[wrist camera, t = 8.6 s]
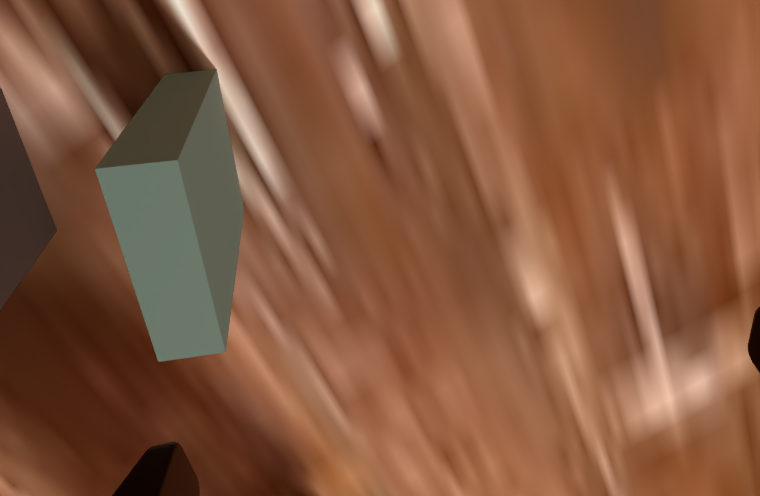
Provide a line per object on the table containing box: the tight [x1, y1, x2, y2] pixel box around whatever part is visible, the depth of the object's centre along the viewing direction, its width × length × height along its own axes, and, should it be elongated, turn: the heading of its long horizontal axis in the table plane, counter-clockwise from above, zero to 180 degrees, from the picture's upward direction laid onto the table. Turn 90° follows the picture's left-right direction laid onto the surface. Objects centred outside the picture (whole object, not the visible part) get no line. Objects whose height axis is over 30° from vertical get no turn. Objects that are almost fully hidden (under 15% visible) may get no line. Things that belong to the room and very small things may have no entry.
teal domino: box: [95, 69, 244, 362], centre depth 16 cm, size 2×5×8 cm, turn 2°
